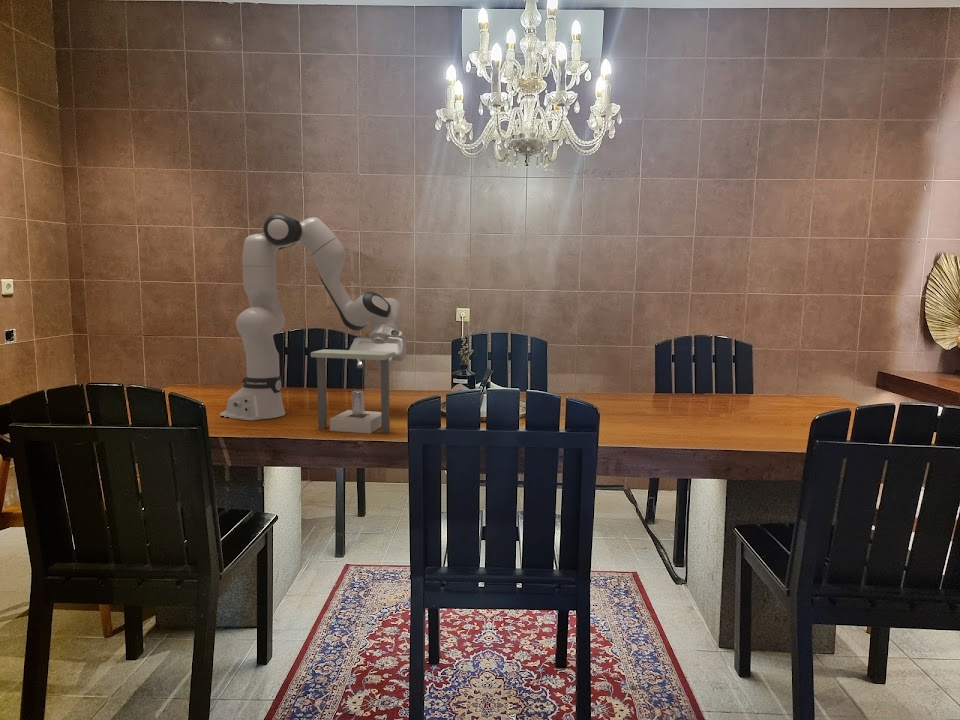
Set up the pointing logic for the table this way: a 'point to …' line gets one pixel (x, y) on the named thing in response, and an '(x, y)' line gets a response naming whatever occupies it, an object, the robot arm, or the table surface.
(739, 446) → the table surface
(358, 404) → the peg
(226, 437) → the table surface
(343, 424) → the socket
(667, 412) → the table surface
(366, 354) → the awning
